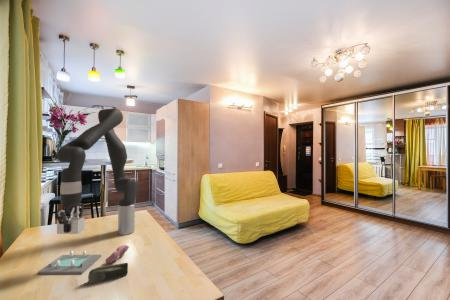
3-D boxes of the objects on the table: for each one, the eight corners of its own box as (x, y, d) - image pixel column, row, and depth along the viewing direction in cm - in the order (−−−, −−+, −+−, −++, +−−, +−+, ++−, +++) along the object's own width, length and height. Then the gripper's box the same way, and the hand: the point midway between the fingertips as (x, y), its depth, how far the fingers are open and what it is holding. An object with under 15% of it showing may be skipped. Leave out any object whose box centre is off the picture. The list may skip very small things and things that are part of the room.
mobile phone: (127, 260, 84) (85, 269, 77) (128, 264, 81) (83, 273, 75) (127, 272, 84) (84, 281, 77) (127, 276, 81) (83, 286, 75)
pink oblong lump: (111, 268, 89) (117, 255, 88) (103, 262, 90) (109, 249, 89) (126, 256, 99) (132, 244, 98) (118, 251, 99) (124, 239, 99)
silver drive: (64, 230, 91) (64, 216, 91) (84, 230, 91) (84, 216, 91) (57, 233, 87) (57, 220, 87) (77, 233, 87) (78, 220, 87)
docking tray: (62, 256, 95) (62, 248, 95) (101, 256, 95) (101, 248, 95) (37, 274, 82) (37, 264, 82) (82, 273, 82) (82, 264, 82)
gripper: (67, 195, 82) (67, 237, 82) (90, 188, 96) (90, 224, 96) (48, 195, 81) (48, 237, 81) (74, 188, 96) (74, 224, 96)
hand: (71, 230), depth 89 cm, fingers closed on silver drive, 4 cm apart
